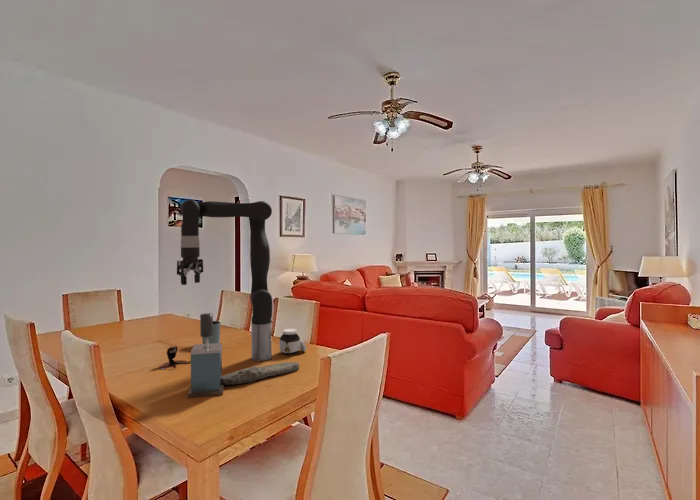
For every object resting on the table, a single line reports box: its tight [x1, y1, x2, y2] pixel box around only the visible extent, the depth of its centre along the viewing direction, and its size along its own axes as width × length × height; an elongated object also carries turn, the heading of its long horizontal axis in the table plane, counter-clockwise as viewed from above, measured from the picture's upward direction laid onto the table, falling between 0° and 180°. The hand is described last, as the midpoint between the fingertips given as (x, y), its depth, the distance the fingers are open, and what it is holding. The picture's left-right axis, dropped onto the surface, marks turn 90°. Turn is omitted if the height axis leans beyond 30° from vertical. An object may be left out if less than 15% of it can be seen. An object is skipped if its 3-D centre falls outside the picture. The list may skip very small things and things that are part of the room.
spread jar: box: [278, 328, 307, 356], centre depth 195 cm, size 12×11×12 cm
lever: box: [199, 312, 214, 348], centre depth 146 cm, size 4×4×25 cm
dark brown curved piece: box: [157, 345, 191, 371], centre depth 177 cm, size 11×12×15 cm
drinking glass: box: [201, 320, 221, 344], centre depth 209 cm, size 10×10×12 cm
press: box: [187, 342, 226, 399], centre depth 146 cm, size 12×12×16 cm
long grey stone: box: [221, 361, 300, 385], centre depth 161 cm, size 35×5×10 cm
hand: (190, 283), depth 167 cm, fingers open, 8 cm apart
